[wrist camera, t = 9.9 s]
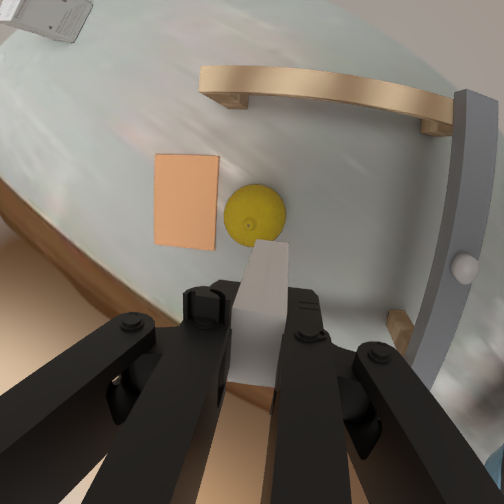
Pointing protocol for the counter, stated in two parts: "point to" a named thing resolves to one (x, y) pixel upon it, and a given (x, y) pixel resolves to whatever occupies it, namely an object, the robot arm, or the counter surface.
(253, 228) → the lemon
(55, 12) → the skincare box
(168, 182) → the pad
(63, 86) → the counter surface
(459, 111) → the bar
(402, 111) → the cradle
